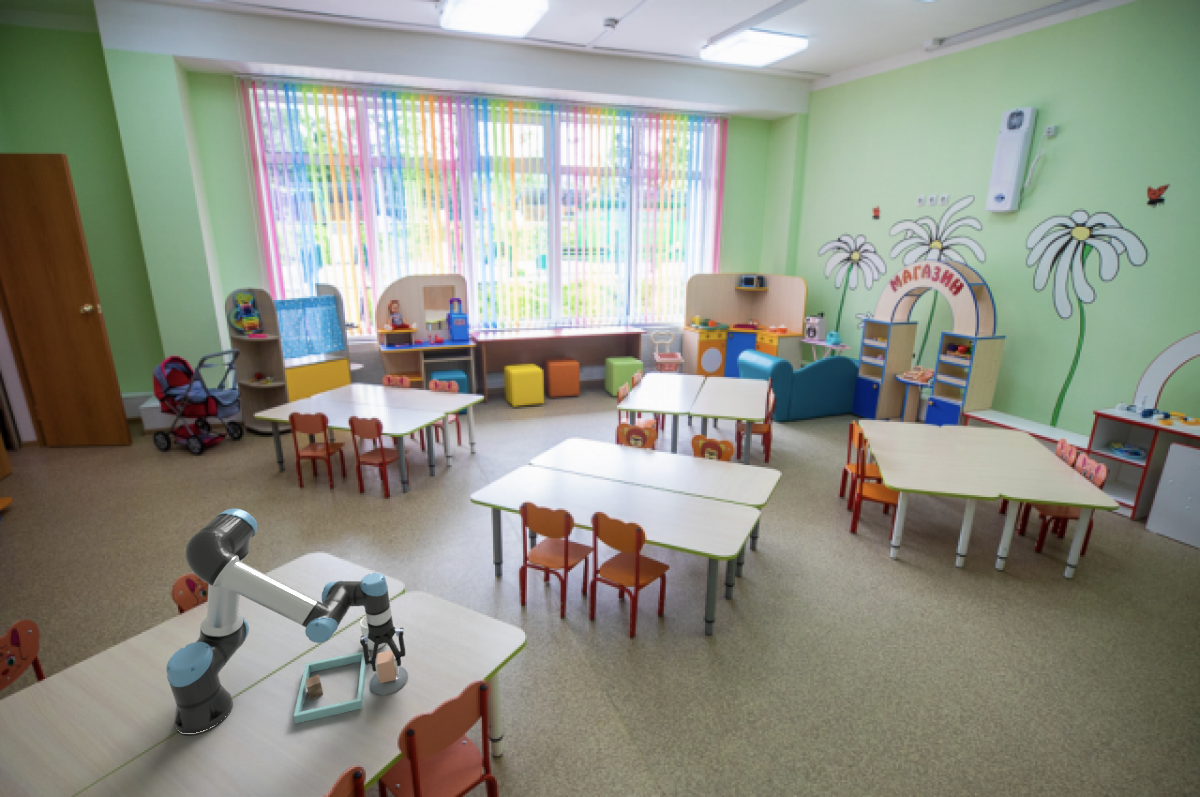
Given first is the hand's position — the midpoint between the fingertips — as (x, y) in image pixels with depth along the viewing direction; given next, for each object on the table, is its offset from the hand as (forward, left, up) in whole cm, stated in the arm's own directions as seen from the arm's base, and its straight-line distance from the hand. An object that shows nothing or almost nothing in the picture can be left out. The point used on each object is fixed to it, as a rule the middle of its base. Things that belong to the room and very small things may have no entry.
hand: (388, 675), depth 192 cm
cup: (-5, +22, -3) cm, 23 cm away
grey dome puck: (0, 0, -2) cm, 2 cm away
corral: (-18, +2, -2) cm, 18 cm away
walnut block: (-23, +2, -2) cm, 23 cm away
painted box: (0, 0, 0) cm, 0 cm away
